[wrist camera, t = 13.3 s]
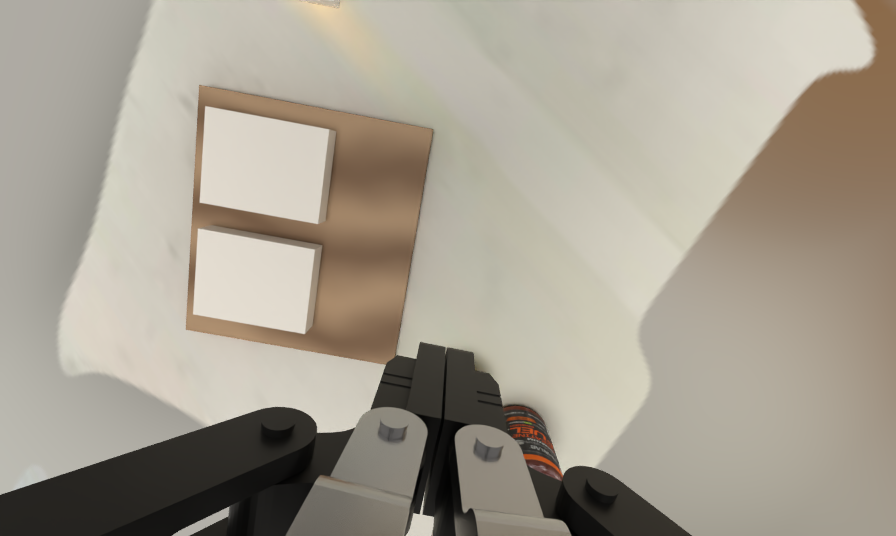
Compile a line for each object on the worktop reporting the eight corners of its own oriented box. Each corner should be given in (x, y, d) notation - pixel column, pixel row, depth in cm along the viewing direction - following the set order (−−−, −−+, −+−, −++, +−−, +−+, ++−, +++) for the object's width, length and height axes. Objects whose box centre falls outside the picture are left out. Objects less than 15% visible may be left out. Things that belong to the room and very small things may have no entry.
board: (207, 87, 35) (199, 85, 34) (433, 130, 36) (432, 129, 34) (193, 324, 39) (185, 329, 38) (394, 359, 40) (392, 365, 39)
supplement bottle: (553, 409, 41) (590, 498, 30) (537, 465, 42) (567, 570, 31) (489, 396, 41) (502, 483, 30) (475, 453, 42) (483, 556, 31)
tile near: (337, 131, 34) (221, 109, 34) (329, 129, 32) (205, 105, 32) (326, 220, 36) (215, 200, 36) (318, 224, 34) (199, 202, 34)
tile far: (323, 244, 36) (213, 224, 36) (314, 249, 34) (198, 228, 34) (313, 324, 38) (208, 305, 38) (304, 334, 36) (192, 314, 36)
